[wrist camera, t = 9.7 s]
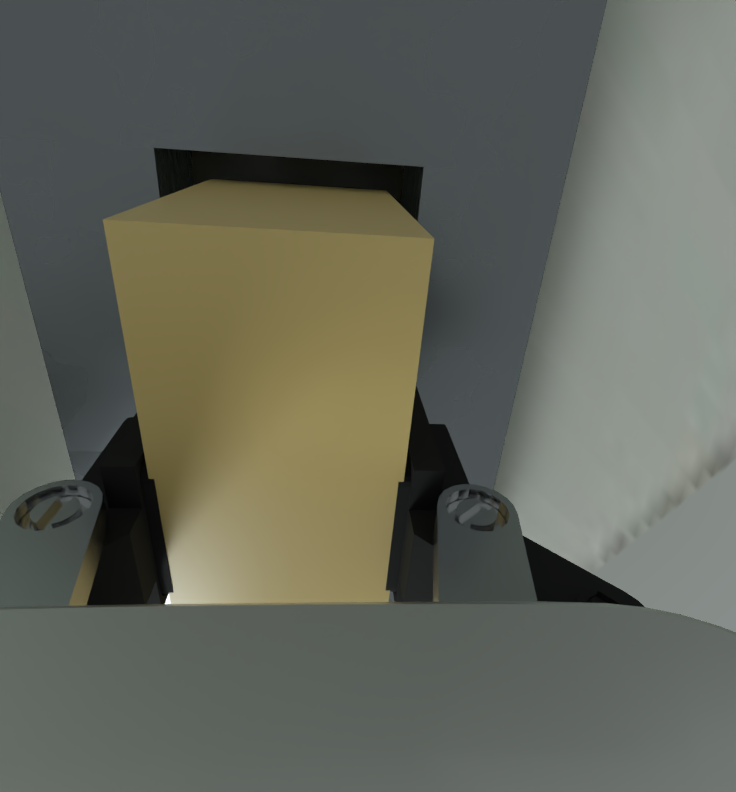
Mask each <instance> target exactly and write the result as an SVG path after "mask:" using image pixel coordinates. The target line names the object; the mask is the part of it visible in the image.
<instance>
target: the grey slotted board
mask: <svg viewBox="0 0 736 792" xmlns="http://www.w3.org/2000/svg"><path fill="white" fill-rule="evenodd" d="M606 2H607V0H0V192H1V196H2V199H3V203H4V207H5V211H6V215H7V219H8V222H9V226H10V230H11V234H12V238H13V242H14V245H15V249H16V253H17V257H18V261H19V265H20V268H21V272H22V276H23V280H24V284H25V288H26V291H27V295H28V299H29V303H30V307H31V311H32V314H33V318H34V322H35V326H36V330H37V334H38V337H39V341H40V345H41V349H42V353H43V357H44V360H45V364H46V368H47V372H48V376H49V380H50V383H51V387H52V391H53V395H54V399H55V403H56V406H57V410H58V414H59V418H60V422H61V426H62V429H63V433H64V437H65V441H66V445H67V449H68V452H69V456H70V460H71V464H72V468H73V472H74V475H75V479H76V480H82V479H83V478H84V476H85V475H86V473H87V472H88V471H89V469H90V468H91V466H92V465H93V464H94V462H95V461H96V459H97V458H98V457H99V455H100V454H101V452H102V451H103V450H104V448H105V447H106V446H107V444H108V443H109V441H110V440H111V439H112V437H113V436H114V434H115V433H116V432H117V430H118V429H119V427H120V426H121V425H122V423H123V422H124V421H125V420H126V419H127V418H129V417H134V416H135V414H136V413H137V410H136V405H135V399H134V393H133V388H132V382H131V376H130V371H129V365H128V359H127V354H126V348H125V342H124V337H123V331H122V326H121V320H120V314H119V309H118V303H117V297H116V292H115V286H114V280H113V275H112V269H111V264H110V258H109V252H108V247H107V241H106V235H105V230H104V224H103V219H105V218H108V217H111V216H113V215H116V214H119V213H121V212H124V211H127V210H129V209H132V208H135V207H137V206H140V205H143V204H145V203H148V202H151V201H154V200H156V199H159V198H162V197H164V196H167V195H170V194H172V193H175V192H178V191H180V190H183V189H186V188H188V187H191V186H194V184H193V173H192V162H191V151H190V150H193V151H207V152H221V153H235V154H249V155H264V156H278V157H292V158H306V159H320V160H334V161H348V162H362V163H377V164H391V165H404V170H403V181H402V192H401V202H400V205H401V206H402V207H403V208H404V209H405V210H406V211H407V212H408V213H409V214H410V215H411V216H412V217H413V218H414V219H415V220H416V221H417V222H418V223H419V224H420V225H421V226H422V227H423V228H424V229H425V230H426V231H427V232H428V233H429V234H430V235H431V236H432V237H433V238H434V246H433V254H432V262H431V270H430V278H429V286H428V294H427V301H426V309H425V317H424V325H423V333H422V341H421V349H420V357H419V365H418V373H417V381H416V386H417V389H418V392H419V395H420V398H421V401H422V404H423V407H424V410H425V412H426V415H427V418H428V421H429V424H444V425H446V427H447V429H448V431H449V434H450V436H451V439H452V441H453V444H454V447H455V449H456V452H457V454H458V457H459V459H460V462H461V464H462V467H463V469H464V472H465V474H466V477H467V479H468V482H469V484H475V485H479V486H484V487H487V488H490V489H492V490H493V488H494V484H495V480H496V475H497V471H498V467H499V463H500V458H501V454H502V450H503V445H504V441H505V437H506V432H507V428H508V424H509V419H510V415H511V411H512V407H513V402H514V398H515V394H516V389H517V385H518V381H519V376H520V372H521V368H522V364H523V359H524V355H525V351H526V346H527V342H528V338H529V333H530V329H531V325H532V321H533V316H534V312H535V308H536V303H537V299H538V295H539V290H540V286H541V282H542V278H543V273H544V269H545V265H546V260H547V256H548V252H549V247H550V243H551V239H552V235H553V230H554V226H555V222H556V217H557V213H558V209H559V204H560V200H561V196H562V192H563V187H564V183H565V179H566V174H567V170H568V166H569V161H570V157H571V153H572V149H573V144H574V140H575V136H576V131H577V127H578V123H579V118H580V114H581V110H582V106H583V101H584V97H585V93H586V88H587V84H588V80H589V75H590V71H591V67H592V63H593V58H594V54H595V50H596V45H597V41H598V37H599V32H600V28H601V24H602V20H603V15H604V11H605V7H606ZM389 602H394V595H393V592H390V594H389ZM165 604H171V602H170V596H169V594H168V596H167V599H166V602H165Z"/></svg>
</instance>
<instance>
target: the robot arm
mask: <svg viewBox="0 0 736 792" xmlns="http://www.w3.org/2000/svg"><path fill="white" fill-rule="evenodd" d="M386 590H390V592H393V595H394V602H303V603H213V604H165V602H166V599H167V596H168V594H169V593H174V592H173V586H172V580H171V575H170V569H169V563H168V557H167V551H166V545H165V539H164V534H163V528H162V522H161V516H160V510H159V504H158V499H157V493H156V487H155V481H154V479H149V478H148V472H147V467H146V461H145V455H144V450H143V444H142V438H141V433H140V427H139V421H138V416H137V413H136V414H135V416H134V417H129V418H127V419H126V420H125V421H124V422H123V423H122V425H121V426H120V427H119V429H118V430H117V432H116V433H115V434H114V436H113V437H112V439H111V440H110V441H109V443H108V444H107V446H106V447H105V448H104V450H103V451H102V452H101V454H100V455H99V457H98V458H97V459H96V461H95V462H94V464H93V465H92V466H91V468H90V469H89V471H88V472H87V473H86V475H85V476H84V478H83V479H82V480H63V481H58V482H52V483H49V484H46V485H43V486H40V487H37V488H35V489H33V490H31V491H29V492H27V493H25V494H23V495H22V496H20V497H19V498H18V499H16V500H15V501H14V502H12V503H11V505H10V506H9V507H8V508H7V510H6V511H5V512H4V514H3V516H2V518H1V519H0V792H736V632H733V631H731V630H728V629H725V628H723V627H720V626H717V625H714V624H711V623H707V622H704V621H701V620H697V619H694V618H691V617H687V616H684V615H681V614H676V613H671V612H666V611H661V610H655V609H650V608H646V607H644V606H643V605H642V604H641V603H640V602H639V601H638V600H636V599H635V598H633V597H632V596H630V595H629V594H627V593H626V592H624V591H622V590H620V589H619V588H617V587H615V586H613V585H611V584H610V583H608V582H606V581H604V580H602V579H600V578H598V577H597V576H595V575H593V574H591V573H590V572H588V571H586V570H584V569H582V568H580V567H579V566H577V565H575V564H573V563H571V562H570V561H568V560H566V559H564V558H562V557H561V556H559V555H557V554H555V553H553V552H551V551H550V550H548V549H546V548H544V547H542V546H541V545H539V544H537V543H535V542H533V541H532V540H530V539H528V538H526V537H524V536H523V535H522V531H521V526H520V522H519V518H518V514H517V512H516V509H515V507H514V505H513V504H512V503H511V502H510V501H509V500H508V499H507V498H506V497H504V496H503V495H501V494H500V493H498V492H497V491H494V490H492V489H490V488H487V487H484V486H479V485H475V484H469V482H468V479H467V477H466V474H465V472H464V469H463V467H462V464H461V462H460V459H459V457H458V454H457V452H456V449H455V447H454V444H453V441H452V439H451V436H450V434H449V431H448V429H447V427H446V425H444V424H429V421H428V418H427V415H426V412H425V410H424V407H423V404H422V401H421V398H420V395H419V392H418V389H417V386H416V389H415V396H414V404H413V412H412V420H411V428H410V436H409V444H408V452H407V460H406V468H405V476H404V482H398V491H397V499H396V507H395V516H394V524H393V532H392V541H391V549H390V557H389V565H388V574H387V582H386Z"/></svg>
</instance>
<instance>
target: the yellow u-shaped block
mask: <svg viewBox="0 0 736 792" xmlns="http://www.w3.org/2000/svg"><path fill="white" fill-rule="evenodd" d="M103 224H104V230H105V235H106V241H107V247H108V252H109V258H110V264H111V269H112V275H113V280H114V286H115V292H116V297H117V303H118V309H119V314H120V320H121V326H122V331H123V337H124V342H125V348H126V354H127V359H128V365H129V371H130V376H131V382H132V388H133V393H134V399H135V405H136V410H137V416H138V421H139V427H140V433H141V438H142V444H143V450H144V455H145V461H146V467H147V472H148V478H149V479H154V481H155V487H156V493H157V499H158V504H159V510H160V516H161V522H162V528H163V534H164V539H165V545H166V551H167V557H168V563H169V569H170V575H171V580H172V586H173V592H174V593H169V596H170V602H171V604H213V603H303V602H389V594H390V590H386V582H387V574H388V565H389V557H390V549H391V541H392V532H393V524H394V516H395V507H396V499H397V491H398V482H404V476H405V468H406V460H407V452H408V444H409V436H410V428H411V420H412V412H413V404H414V396H415V389H416V381H417V373H418V365H419V357H420V349H421V341H422V333H423V325H424V317H425V309H426V301H427V294H428V286H429V278H430V270H431V262H432V254H433V246H434V238H433V237H432V236H431V235H430V234H429V233H428V232H427V231H426V230H425V229H424V228H423V227H422V226H421V225H420V224H419V223H418V222H417V221H416V220H415V219H414V218H413V217H412V216H411V215H410V214H409V213H408V212H407V211H406V210H405V209H404V208H403V207H402V206H401V205H400V204H399V203H398V202H397V201H396V200H395V199H394V198H393V197H392V196H391V195H390V194H389V193H388V192H387V191H386V190H371V189H356V188H341V187H326V186H311V185H295V184H280V183H265V182H250V181H235V180H220V179H210V180H207V181H204V182H202V183H199V184H196V185H194V186H191V187H188V188H186V189H183V190H180V191H178V192H175V193H172V194H170V195H167V196H164V197H162V198H159V199H156V200H154V201H151V202H148V203H145V204H143V205H140V206H137V207H135V208H132V209H129V210H127V211H124V212H121V213H119V214H116V215H113V216H111V217H108V218H105V219H103Z"/></svg>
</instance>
